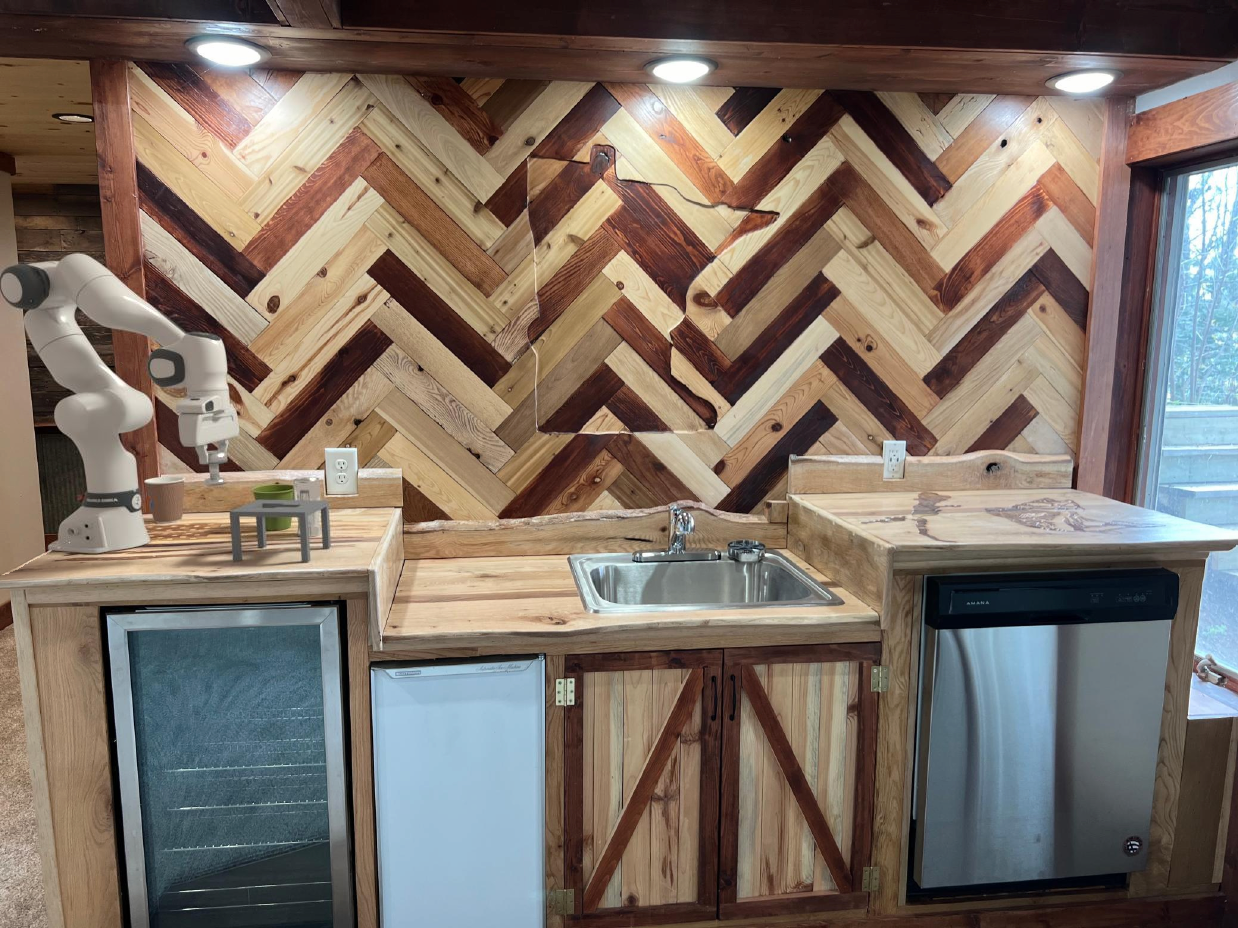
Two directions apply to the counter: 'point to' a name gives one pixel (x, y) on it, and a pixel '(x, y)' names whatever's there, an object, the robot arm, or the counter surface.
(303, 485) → the beer glass
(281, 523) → the plant pot
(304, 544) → the keyhole stand
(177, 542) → the counter surface
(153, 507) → the coffee cup
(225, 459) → the steel peg
